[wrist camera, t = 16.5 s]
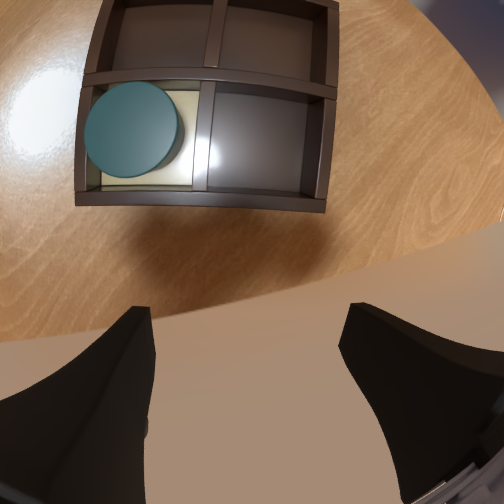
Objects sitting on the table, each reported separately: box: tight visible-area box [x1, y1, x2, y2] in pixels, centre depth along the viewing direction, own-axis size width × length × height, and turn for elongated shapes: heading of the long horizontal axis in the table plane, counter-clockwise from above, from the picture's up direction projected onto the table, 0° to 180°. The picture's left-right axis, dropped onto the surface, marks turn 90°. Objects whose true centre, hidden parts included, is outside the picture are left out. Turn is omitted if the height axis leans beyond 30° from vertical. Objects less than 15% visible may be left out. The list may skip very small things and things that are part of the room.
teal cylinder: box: [84, 81, 185, 178], centre depth 12 cm, size 4×4×4 cm
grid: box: [74, 0, 339, 214], centre depth 13 cm, size 14×14×3 cm
